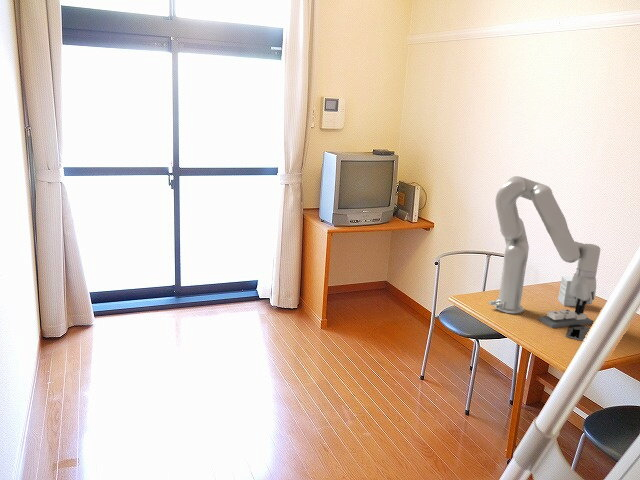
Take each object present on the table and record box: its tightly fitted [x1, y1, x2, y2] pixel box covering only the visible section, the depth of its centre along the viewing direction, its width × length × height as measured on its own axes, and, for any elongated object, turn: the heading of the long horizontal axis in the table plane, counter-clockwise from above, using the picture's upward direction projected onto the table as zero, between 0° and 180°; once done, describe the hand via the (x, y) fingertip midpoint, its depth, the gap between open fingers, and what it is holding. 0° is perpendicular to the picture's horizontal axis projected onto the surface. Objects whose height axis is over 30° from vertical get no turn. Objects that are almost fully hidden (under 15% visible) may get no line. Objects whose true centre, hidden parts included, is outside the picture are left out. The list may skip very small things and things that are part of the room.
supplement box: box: [557, 275, 576, 307], centre depth 236 cm, size 7×7×13 cm
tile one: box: [546, 310, 564, 320], centre depth 214 cm, size 5×5×2 cm
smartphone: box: [565, 324, 590, 342], centre depth 207 cm, size 7×1×16 cm
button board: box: [538, 315, 594, 329], centre depth 216 cm, size 21×8×2 cm, turn 105°
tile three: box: [571, 310, 588, 320], centre depth 217 cm, size 5×5×2 cm
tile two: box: [558, 309, 576, 319], centre depth 216 cm, size 5×5×2 cm
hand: (579, 312), depth 217 cm, fingers closed
